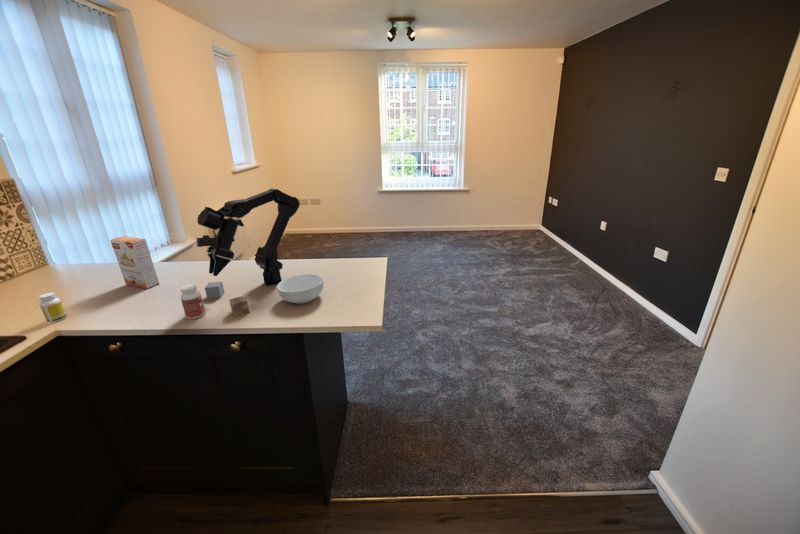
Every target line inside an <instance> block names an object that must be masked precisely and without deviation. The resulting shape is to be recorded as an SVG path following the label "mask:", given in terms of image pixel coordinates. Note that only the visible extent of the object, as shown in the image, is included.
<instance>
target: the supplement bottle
mask: <svg viewBox="0 0 800 534" xmlns="http://www.w3.org/2000/svg"><path fill="white" fill-rule="evenodd" d="M38 297H39V300H40V303H39V307H40V309H41V312H42V314H43V316H44V318H45V321H46V322H47V323H48V322H54V323H58V322H62V321H63V320H66V318H67V317H68V315H67V313H66V310H65V308H64V306H63V303H62V301H61V299H60V298H58V297H57V296H56V294H55V292H47V293H46V292H45V293H44V294H43V293H42V294H40V295H39V296H38Z"/></svg>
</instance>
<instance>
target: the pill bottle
mask: <svg viewBox="0 0 800 534" xmlns="http://www.w3.org/2000/svg"><path fill="white" fill-rule="evenodd" d="M180 292H181V294H180V301H181V304H182V308H183V311H184V315H185V317H186V319H188V320H194V319H199V318H201V317H203V316H205V314H206V309H205V305H204V302H203V301H204V300H203V297H202V295H201V292H200V291H199V290H198V287H197V285H196V284H187V285H184V286H182V287H181V288H180Z"/></svg>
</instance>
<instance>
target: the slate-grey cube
mask: <svg viewBox="0 0 800 534" xmlns="http://www.w3.org/2000/svg"><path fill="white" fill-rule="evenodd" d="M204 290H205V294H206V300H215V298H216V299H222V297H224V295H225V288H224V284H223V281H213V282H208V283H207V285H206V286H205V287H204Z"/></svg>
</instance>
